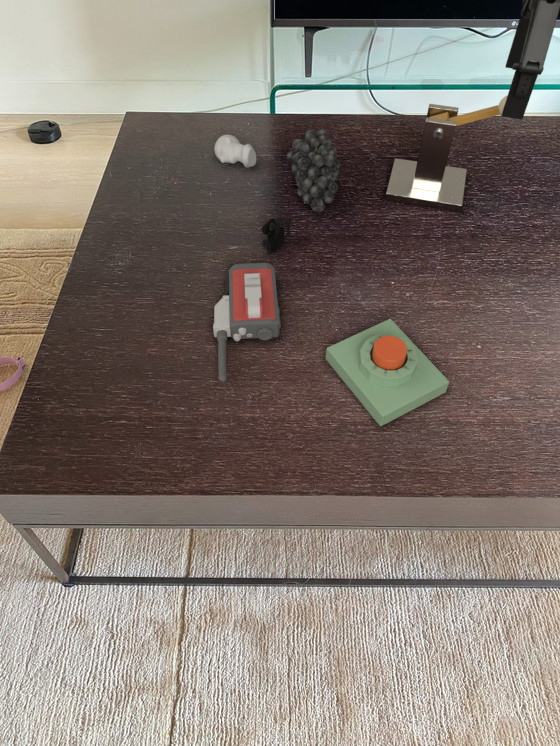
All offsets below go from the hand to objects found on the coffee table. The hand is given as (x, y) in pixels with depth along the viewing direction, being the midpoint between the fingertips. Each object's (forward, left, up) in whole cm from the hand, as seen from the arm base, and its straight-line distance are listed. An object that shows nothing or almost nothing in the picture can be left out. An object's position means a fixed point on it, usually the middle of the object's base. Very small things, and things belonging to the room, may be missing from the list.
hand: (513, 91), depth 87 cm
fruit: (+14, +23, -18) cm, 33 cm away
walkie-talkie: (-6, +46, -18) cm, 50 cm away
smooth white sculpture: (+28, +30, -18) cm, 45 cm away
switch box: (-22, +35, -18) cm, 45 cm away
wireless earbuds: (+6, +35, -18) cm, 40 cm away
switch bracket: (+6, +6, -18) cm, 20 cm away
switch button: (-22, +35, -14) cm, 44 cm away
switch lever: (+3, +3, -6) cm, 7 cm away
